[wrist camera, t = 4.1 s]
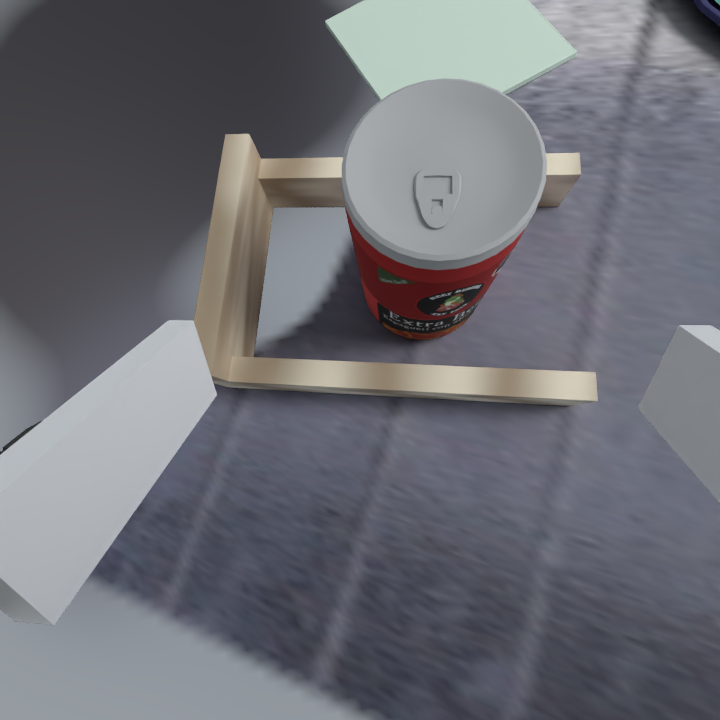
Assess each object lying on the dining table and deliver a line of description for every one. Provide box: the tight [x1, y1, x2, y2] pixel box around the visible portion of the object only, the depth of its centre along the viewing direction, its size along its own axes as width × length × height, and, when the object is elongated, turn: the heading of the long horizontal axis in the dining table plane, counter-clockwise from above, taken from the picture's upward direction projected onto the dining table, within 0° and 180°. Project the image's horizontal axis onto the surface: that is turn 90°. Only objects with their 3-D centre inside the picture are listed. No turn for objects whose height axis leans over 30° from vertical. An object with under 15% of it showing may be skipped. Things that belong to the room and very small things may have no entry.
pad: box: [325, 0, 577, 101], centre depth 28 cm, size 14×14×1 cm
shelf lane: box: [194, 134, 598, 406], centre depth 21 cm, size 22×15×5 cm
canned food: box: [342, 78, 547, 340], centre depth 18 cm, size 8×8×11 cm
